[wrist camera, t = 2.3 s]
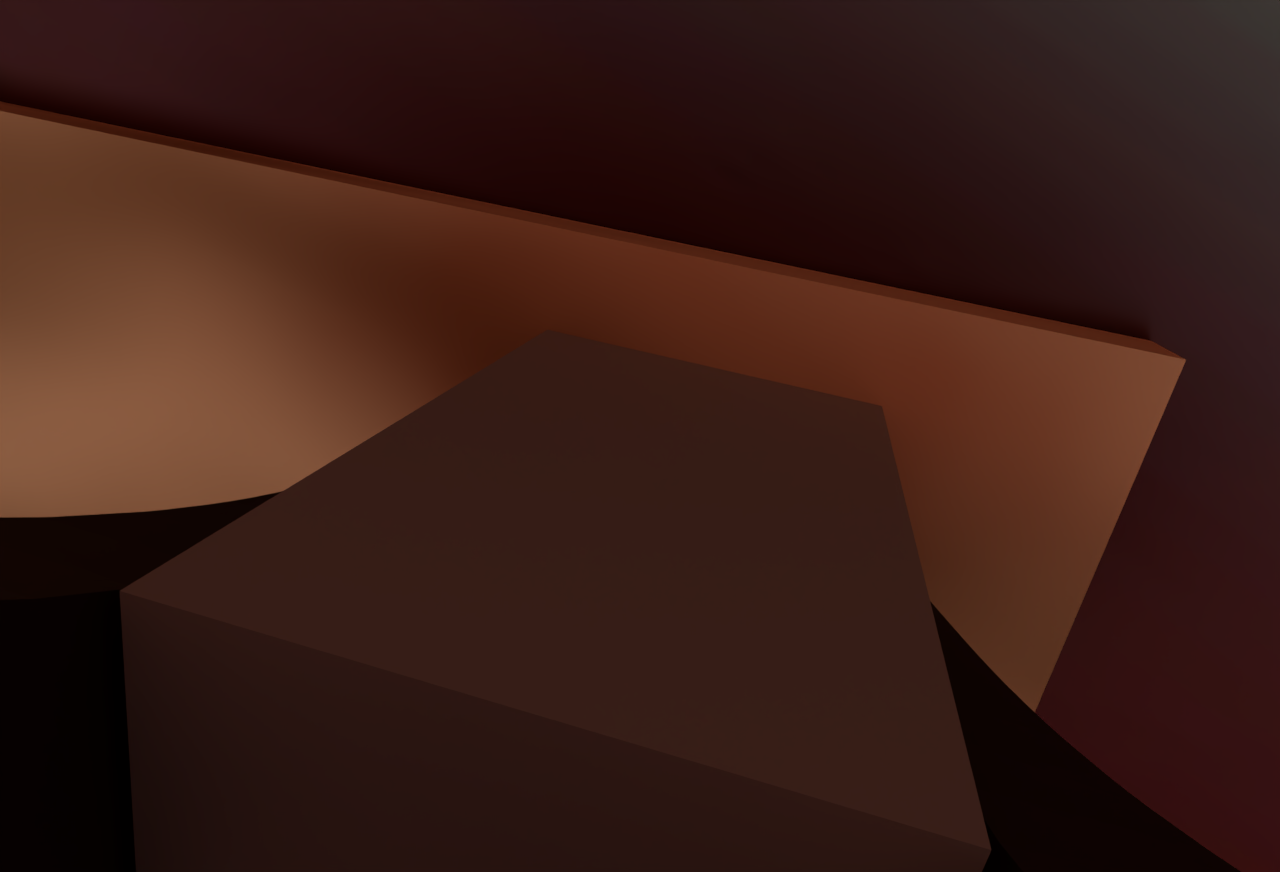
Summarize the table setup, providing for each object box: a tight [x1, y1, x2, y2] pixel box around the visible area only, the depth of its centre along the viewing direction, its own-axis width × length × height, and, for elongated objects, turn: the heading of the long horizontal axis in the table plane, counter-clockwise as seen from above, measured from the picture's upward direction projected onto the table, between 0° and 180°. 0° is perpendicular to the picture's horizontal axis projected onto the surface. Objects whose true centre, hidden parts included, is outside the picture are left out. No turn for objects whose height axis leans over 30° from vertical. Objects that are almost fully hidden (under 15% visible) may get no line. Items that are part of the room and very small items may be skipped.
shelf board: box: [0, 101, 1186, 712], centre depth 15 cm, size 19×22×4 cm
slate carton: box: [120, 330, 991, 872], centre depth 9 cm, size 5×5×8 cm
